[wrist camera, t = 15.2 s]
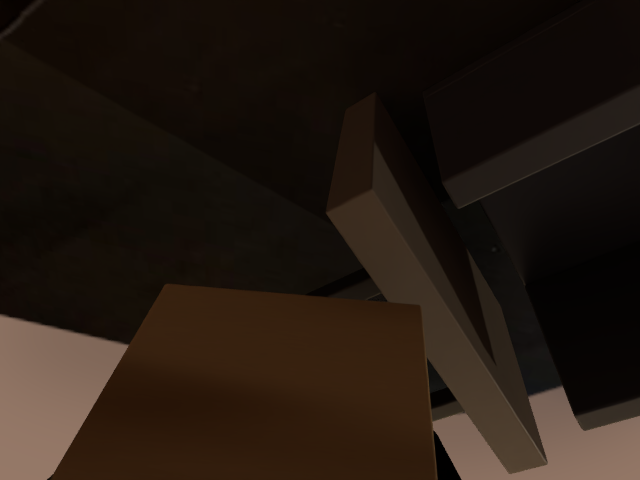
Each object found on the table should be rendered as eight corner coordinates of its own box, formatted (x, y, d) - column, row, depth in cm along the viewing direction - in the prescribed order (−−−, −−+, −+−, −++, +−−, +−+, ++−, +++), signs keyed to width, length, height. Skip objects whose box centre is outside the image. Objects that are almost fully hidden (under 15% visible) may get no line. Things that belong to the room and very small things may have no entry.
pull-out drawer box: (375, 354, 24) (373, 510, 17) (237, 172, 19) (169, 292, 13) (826, 182, 17) (1071, 329, 11) (764, -140, 13) (1100, -190, 7)
